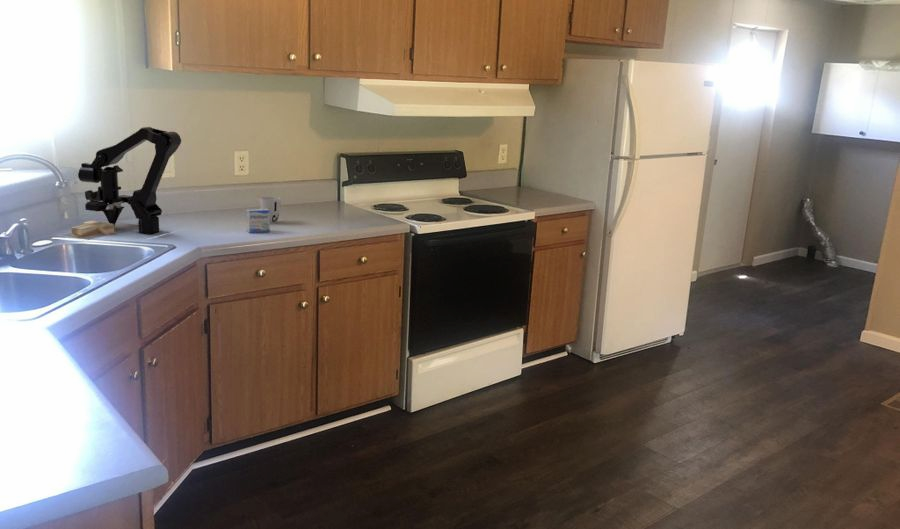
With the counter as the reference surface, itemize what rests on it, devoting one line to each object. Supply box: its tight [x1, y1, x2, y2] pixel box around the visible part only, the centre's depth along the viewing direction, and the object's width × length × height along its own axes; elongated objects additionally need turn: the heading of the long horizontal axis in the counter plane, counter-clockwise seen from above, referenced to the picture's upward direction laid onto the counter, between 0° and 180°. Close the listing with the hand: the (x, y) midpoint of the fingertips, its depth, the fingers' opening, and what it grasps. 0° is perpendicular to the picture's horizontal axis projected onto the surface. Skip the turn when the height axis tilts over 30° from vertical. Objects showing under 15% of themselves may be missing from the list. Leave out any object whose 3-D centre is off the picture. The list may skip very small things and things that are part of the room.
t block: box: [70, 220, 114, 238], centre depth 255 cm, size 10×12×3 cm
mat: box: [62, 221, 139, 241], centre depth 261 cm, size 12×26×1 cm, turn 161°
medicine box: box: [245, 208, 271, 234], centre depth 274 cm, size 8×4×9 cm, turn 117°
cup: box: [259, 196, 281, 225], centre depth 290 cm, size 8×8×10 cm
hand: (112, 226), depth 264 cm, fingers closed
